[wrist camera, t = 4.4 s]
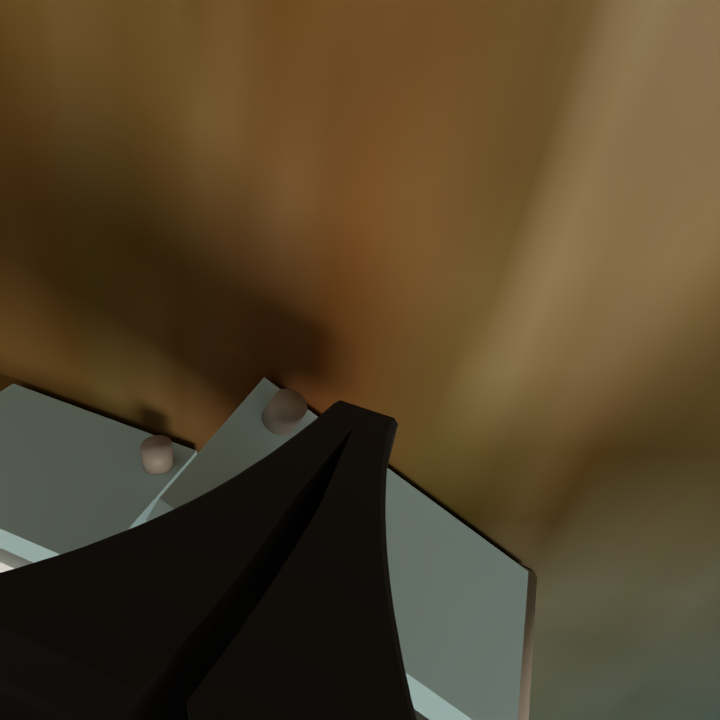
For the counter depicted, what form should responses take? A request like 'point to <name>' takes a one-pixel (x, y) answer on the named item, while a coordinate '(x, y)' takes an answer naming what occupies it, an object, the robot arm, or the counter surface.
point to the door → (408, 574)
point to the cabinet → (75, 477)
